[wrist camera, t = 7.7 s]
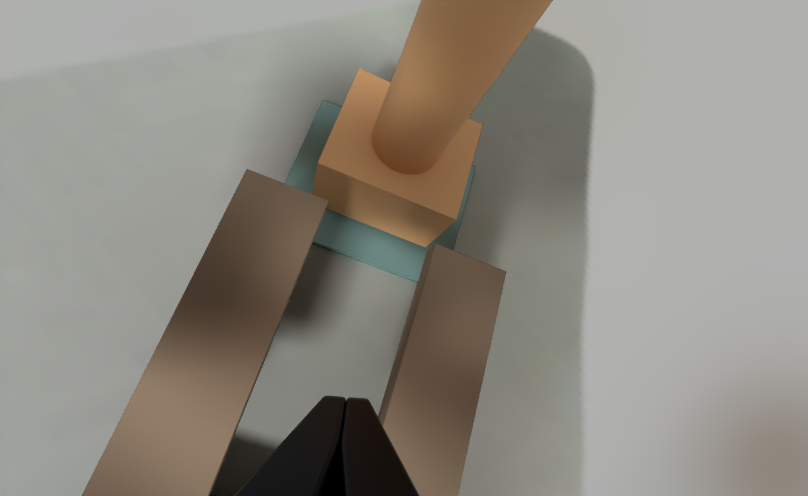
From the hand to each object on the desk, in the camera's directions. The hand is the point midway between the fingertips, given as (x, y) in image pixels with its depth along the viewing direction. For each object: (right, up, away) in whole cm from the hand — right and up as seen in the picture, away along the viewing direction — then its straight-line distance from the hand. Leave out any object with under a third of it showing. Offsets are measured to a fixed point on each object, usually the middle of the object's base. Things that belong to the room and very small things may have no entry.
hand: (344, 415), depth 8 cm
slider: (0, +6, +14) cm, 16 cm away
